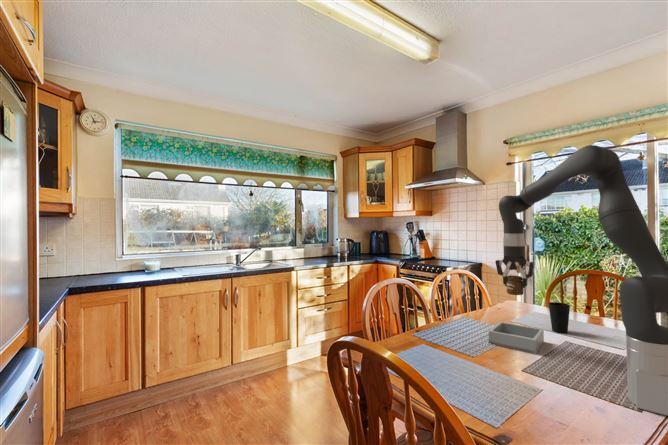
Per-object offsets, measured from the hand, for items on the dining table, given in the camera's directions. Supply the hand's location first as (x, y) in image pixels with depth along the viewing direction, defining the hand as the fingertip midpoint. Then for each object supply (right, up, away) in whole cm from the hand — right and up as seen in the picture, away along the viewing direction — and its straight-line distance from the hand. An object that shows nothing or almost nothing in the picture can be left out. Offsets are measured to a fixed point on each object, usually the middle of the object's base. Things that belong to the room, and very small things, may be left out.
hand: (515, 286), depth 125 cm
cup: (+27, -23, +12) cm, 37 cm away
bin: (0, -23, 0) cm, 23 cm away
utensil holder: (0, -3, 0) cm, 3 cm away
